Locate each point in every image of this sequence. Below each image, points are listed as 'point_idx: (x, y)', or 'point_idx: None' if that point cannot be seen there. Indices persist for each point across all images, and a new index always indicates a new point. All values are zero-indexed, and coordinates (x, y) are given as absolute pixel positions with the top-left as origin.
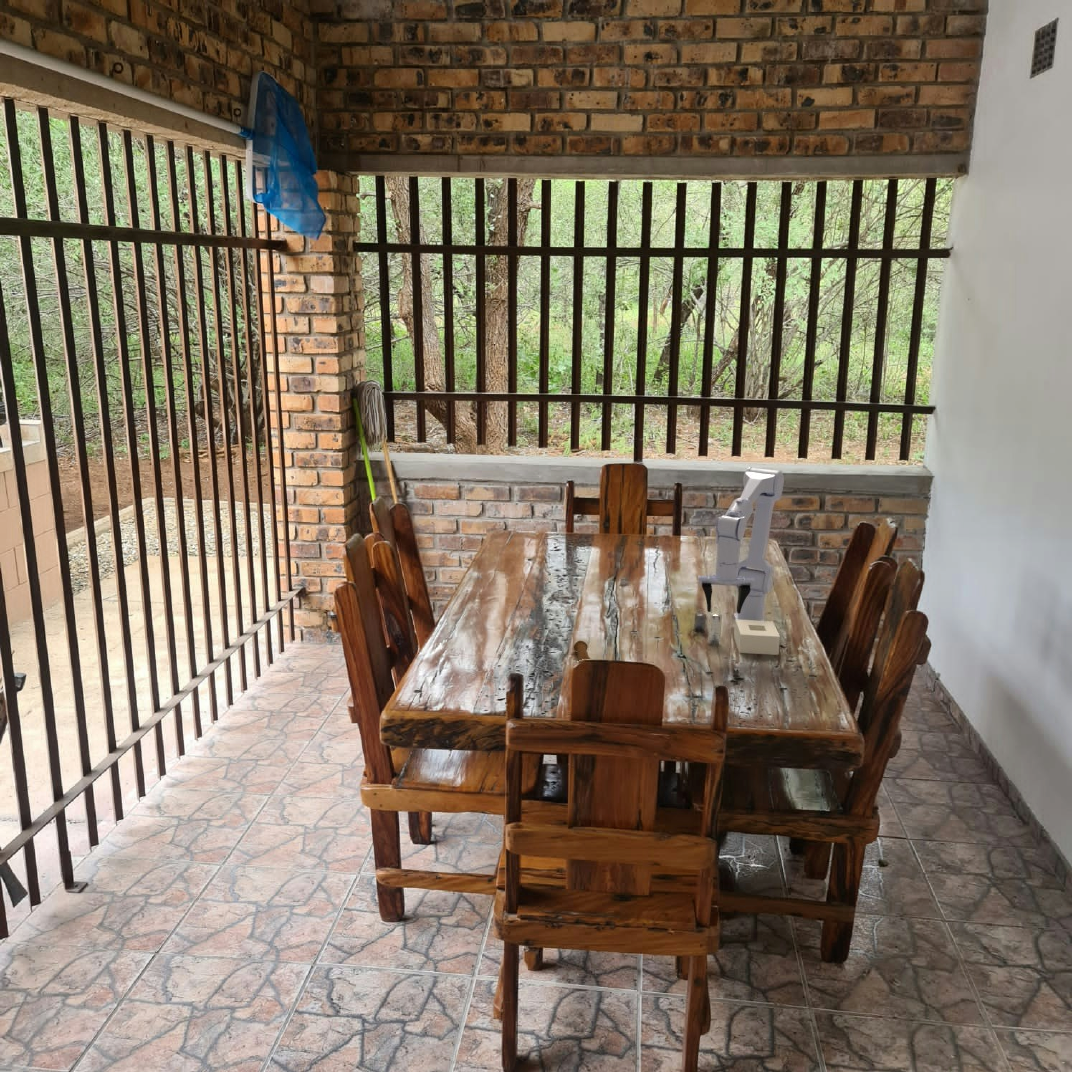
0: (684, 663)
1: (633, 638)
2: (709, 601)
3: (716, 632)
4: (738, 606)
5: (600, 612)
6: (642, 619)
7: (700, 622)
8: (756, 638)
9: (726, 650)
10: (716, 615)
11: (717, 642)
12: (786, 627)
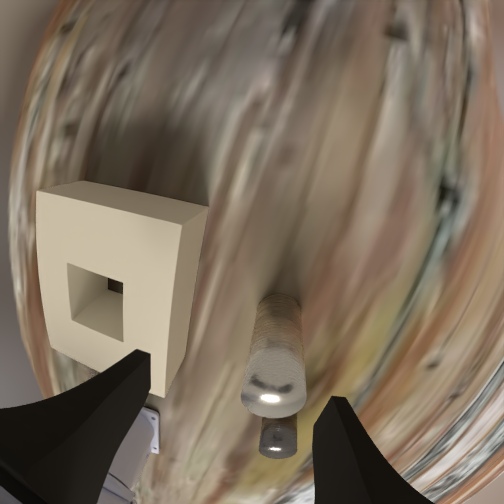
0: (457, 131)
1: (484, 353)
2: (364, 451)
3: (278, 322)
4: (128, 385)
5: (436, 462)
6: (388, 453)
7: (284, 424)
8: (117, 205)
9: (253, 238)
10: (274, 392)
11: (271, 300)
12: (56, 369)
